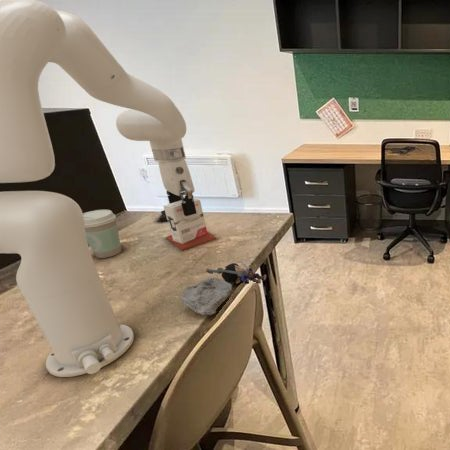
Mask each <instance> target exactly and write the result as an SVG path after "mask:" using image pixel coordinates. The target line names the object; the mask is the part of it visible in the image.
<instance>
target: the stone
mask: <svg viewBox="0 0 450 450" xmlns="http://www.w3.org/2000/svg"><path fill="white" fill-rule="evenodd" d="M232 290H233V285H232V284H231V282H226V281H225V280H221V279H219V278H217V277H213V276H212V277H210V278H206V279H204V280H202V281H200V282H198V283H197V284H194V285H189V286H187V287H185V288H184V290H183V291H182V294H181V295H180V300H181V302H182V304H183V305H184V306H186V307H187V308H189V309H190V310H192V311H193V312H195V313H196V314H200V315H202V316H207V315H208V316H212V315H215V314H216V313H217V310H218V308H219V307H220V306H221V305H222V304H223V303H224V302H225V301H226V300H227V298H228V297H229V296H230V295H231V293H232Z"/></svg>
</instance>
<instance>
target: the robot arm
mask: <svg viewBox="0 0 450 450" xmlns="http://www.w3.org/2000/svg"><path fill="white" fill-rule="evenodd" d="M48 63H54V64H56V65H58V66H59V67H60V68H61V69H62V70H63V71H64V72H65V73H66V74H67V75H68V76H69V77H70V78H72V79H73V80H74V81H75V82H76V83H77V85H78V86H80V87H81V88H82V90H84V91H85V93H87V94H88V95H89V96H91V97H92V98H94V99H95V100H98V101H100V102H103V103H106V104H110V105H113V106H117V107H121V108H126V110H123V111H122V112H120V113H119V114H118V116H117V117H116V120H115V126H116V129H117V131H118V132H119V134H120V135H121V136H122V137H123V138H125V139H127V140H130V141H135V142H149V145H150V149H151V152H152V156H153V159H154V162H157V163H158V167H159V173H160V176H161V180H162V181H161V182H162V184H163V187H164V189H165V190H166V195H167V199H168V204H170V203H174V202H177V201H180V200H181V201H182V202H183V203H181V205H182V209H183V212H184V215H185V216H189V215H193V214H196V208H195V204H194V199H195V198H194V195H193V193H195V186H194V182H193V180H192V176H191V173H190V169H189V166H188V164H187V162H186V159H187V157H186V151H185V148H184V143H183V138H184V137H185V136H186V134H187V123H186V120H185V118H184V117H183V115H182V112H181V111H180V110H179V108H178V107H177V105H176V104H175V103H174V102H173V100H172V99H171V98H170V97H169V96H168V95H167V94H166V93H164V92H163V91H161V90H160V89H158V88H156V87H155V86H153V85H151V84H149V83H147V82H145V81H144V80H142V79H140V78H138V77H136V76H133V75H131V74H129V73H128V72H127V71H126V70H125V69H124V67H123V66H122V65H121V63H119V61H118V60H117V59H116V58H115V56H114V55H113V54H112V53H111V52H110V50H109V49H108V48H107V47H106V45H105V44H104V43H103V42H102V41H101V39H100V38H99V37H98V35H97V34H96V33H95V32H94V31H93V30H92V28H91V27H90V25H88V24H87V23H86V22H85V20H83V19H82V18H80V17H79V16H77V15H75V14H73V13H71V12H67V11H64V10H60V9H59V10H58V9H54V8H53V7H52V6H50V5H48V4H47V3H45V2H42V1H41V0H0V184H12V183H14V184H16V183H28V182H29V183H30V182H37V181H40V180H41V181H42V180H44V179H46V178H48V177H49V176H51V174H52V173H53V172H54V170H55V167H56V163H55V162H56V161H55V153H54V149H53V145H52V140H51V136H50V134H49V129H48V125H47V121H46V118H45V114H44V111H43V107H42V103H41V98H40V91H39V83H40V77H41V76H42V72H43V70H44V69H45V67H47V65H48ZM193 198H194V199H193ZM83 213H84V212H83V210H82V208H81V207H80V205H79V203H77V202H76V201H75V200H74V199H72V198H71V197H69V196H67V195H65V194H62V193H59V192H54V191H46V190H9V191H5V190H4V191H0V254H18V255H19V256H20V257H21V259H20V263H19V266H18V268H17V271H16V274H15V279H16V285H17V288H18V290H19V292H20V293H21V295H22V297H23V299H24V300H25V303H26V305H27V306H28V308H29V310H30V312H31V314H32V316H33V317H34V320H35V321H36V324H37V325H38V327H39V329H40V331H41V333H42V334H43V337H44V339H45V340H46V342H47V344H48V346H49V348H50V350H51V352H50V354H49V355H48V356H47V358H46V360H45V367H46V368H45V369H46V370H47V372H48V373H49V374H50V375H52V376H54V377H59V378H70V377H78V376H81V375H85V374H88V375H94V374H96V373H97V372H99V371H100V370H101V368H104V367H106V366H107V365H109V364H111V363H112V362H114V361H116V360H117V359H119V358H120V357H122V355H123V354H125V353H126V351H127V350H129V348H130V347H131V346H132V345H133V342H134V339H135V333H134V331H133V329H132V327H130V326H128V325H126V324H123V323H119V322H118V319H117V316H116V314H115V312H114V309H113V307H112V305H111V302H110V299H109V297H108V295H107V292H106V289H105V287H104V285H103V282H102V279H101V277H100V275H99V272H98V269H97V267H96V265H95V262H94V259H93V257H92V254H91V251H90V248H89V247H90V246H89V243H88V242H87V239H86V232H85V222H84V216H83Z"/></svg>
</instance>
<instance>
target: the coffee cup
mask: <svg viewBox="0 0 450 450" xmlns="http://www.w3.org/2000/svg"><path fill="white" fill-rule="evenodd" d="M82 213H83V216H84V222H85V232H86V239H87V243H88V246H89V247H90V248H91V251H92V252H93V254H94V256H95V257H96V258H99V259H104V258H105V259H106V258H110V257H114V256H117V255H119V254H120V253H121V252H122V250H123V249H122V245H121V240H120V235H119V229H118V224H117V220H116V219H117V216H116V214H115V213H113V211H112V210H110V209H95V210H90V211H86V212H82Z"/></svg>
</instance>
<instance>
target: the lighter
mask: <svg viewBox="0 0 450 450" xmlns="http://www.w3.org/2000/svg"><path fill="white" fill-rule="evenodd" d="M160 213H161V215H160V216H159V217H157V218H156V222H160V223H163V222H166V221H168V220H167V217H166V213H165V210H161V211H160Z"/></svg>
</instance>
